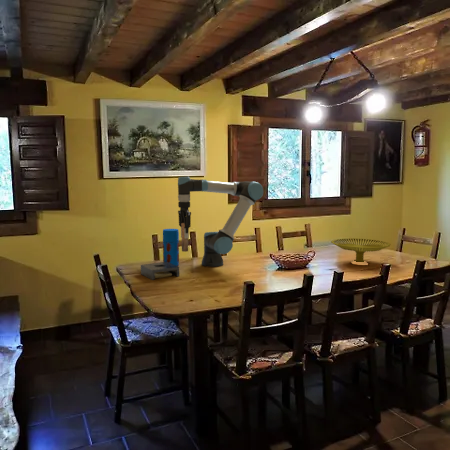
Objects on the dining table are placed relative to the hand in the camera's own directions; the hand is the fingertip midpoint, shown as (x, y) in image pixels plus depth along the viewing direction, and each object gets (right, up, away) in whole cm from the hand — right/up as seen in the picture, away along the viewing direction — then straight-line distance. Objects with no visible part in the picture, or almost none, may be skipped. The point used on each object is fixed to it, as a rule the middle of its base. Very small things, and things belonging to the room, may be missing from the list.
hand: (184, 237), depth 284 cm
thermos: (-11, -20, +22) cm, 32 cm away
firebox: (-15, -23, -6) cm, 28 cm away
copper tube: (0, -9, +1) cm, 9 cm away
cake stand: (+121, -19, +30) cm, 126 cm away
